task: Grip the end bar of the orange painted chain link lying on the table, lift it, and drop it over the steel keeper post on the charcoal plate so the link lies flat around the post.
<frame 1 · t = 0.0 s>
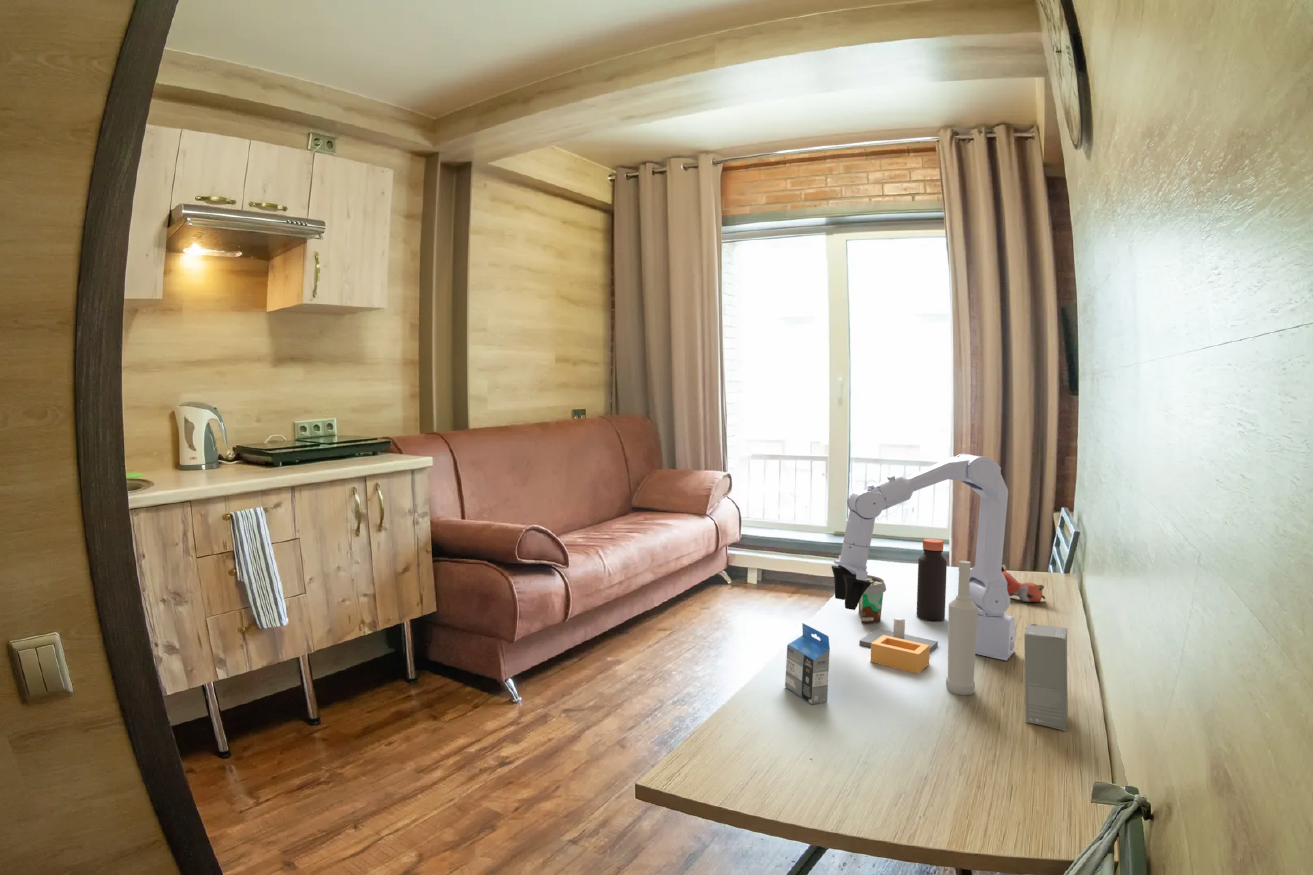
hand: (844, 603, 157), 11 cm above the table, tool pointing down, fingers open, 7 cm apart
stuffed fox: (1020, 600, 200), on the table
label tape box: (806, 695, 134), on the table
bottle: (960, 690, 137), on the table
link: (899, 662, 150), on the table
food container: (872, 619, 180), on the table
skincare box: (1044, 718, 125), on the table
vinegar: (930, 618, 182), on the table
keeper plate: (898, 645, 161), on the table
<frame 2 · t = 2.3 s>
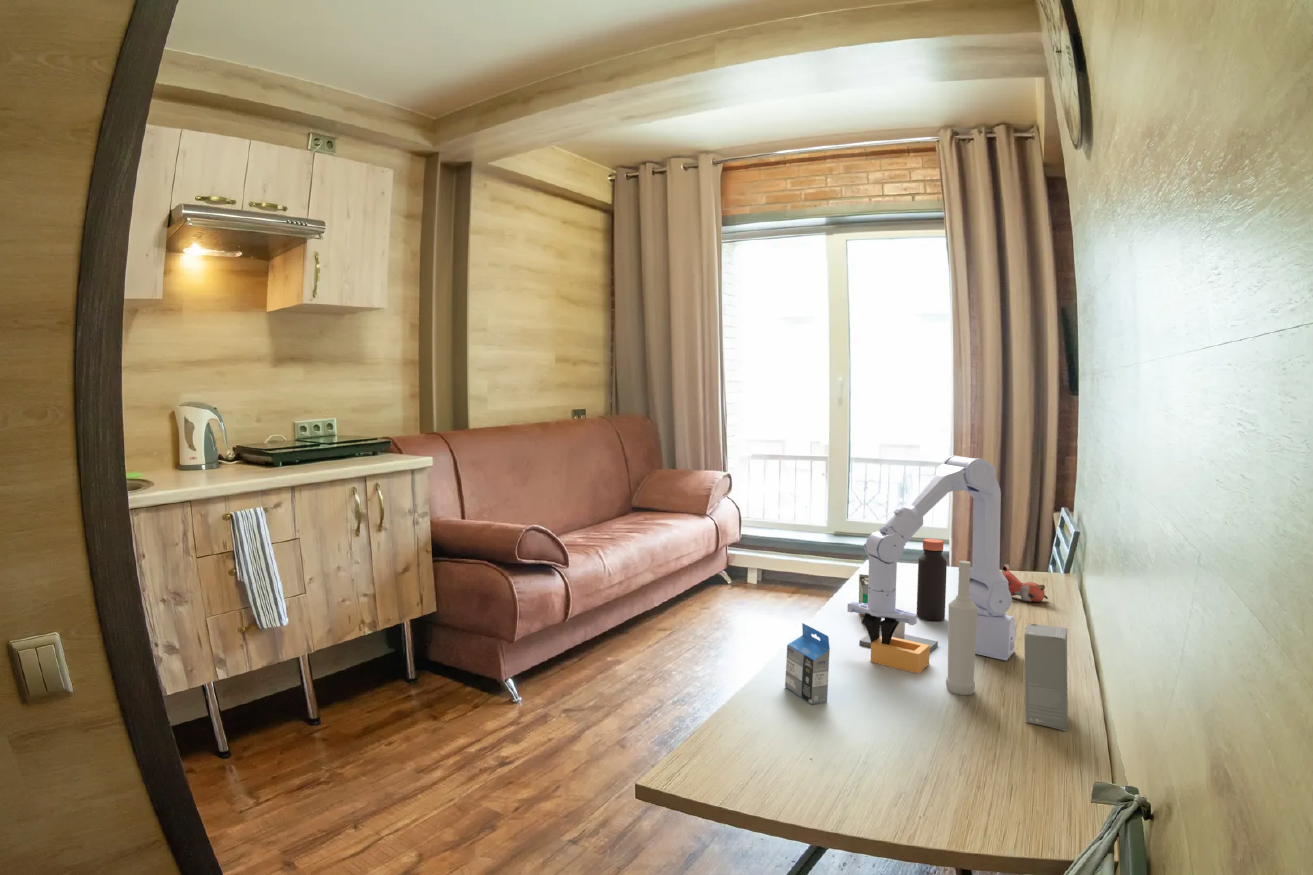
hand: (880, 650, 153), 2 cm above the table, tool pointing down, fingers closed on link
link: (899, 662, 150), on the table, touching gripper
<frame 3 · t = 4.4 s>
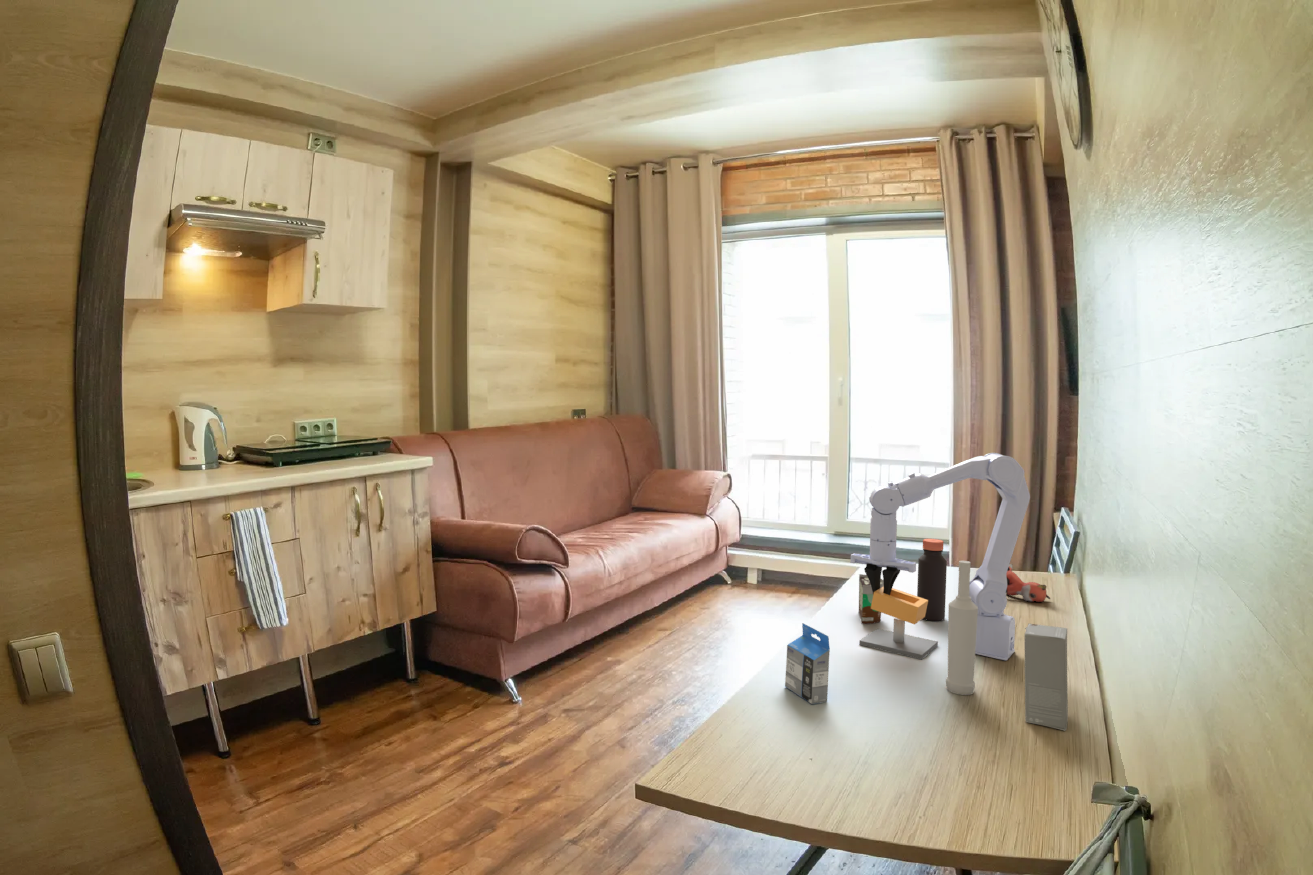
hand: (881, 598, 162), 10 cm above the table, tool pointing down, fingers closed on link
link: (897, 612, 160), point 8 cm above the table, tilted 9°, touching gripper
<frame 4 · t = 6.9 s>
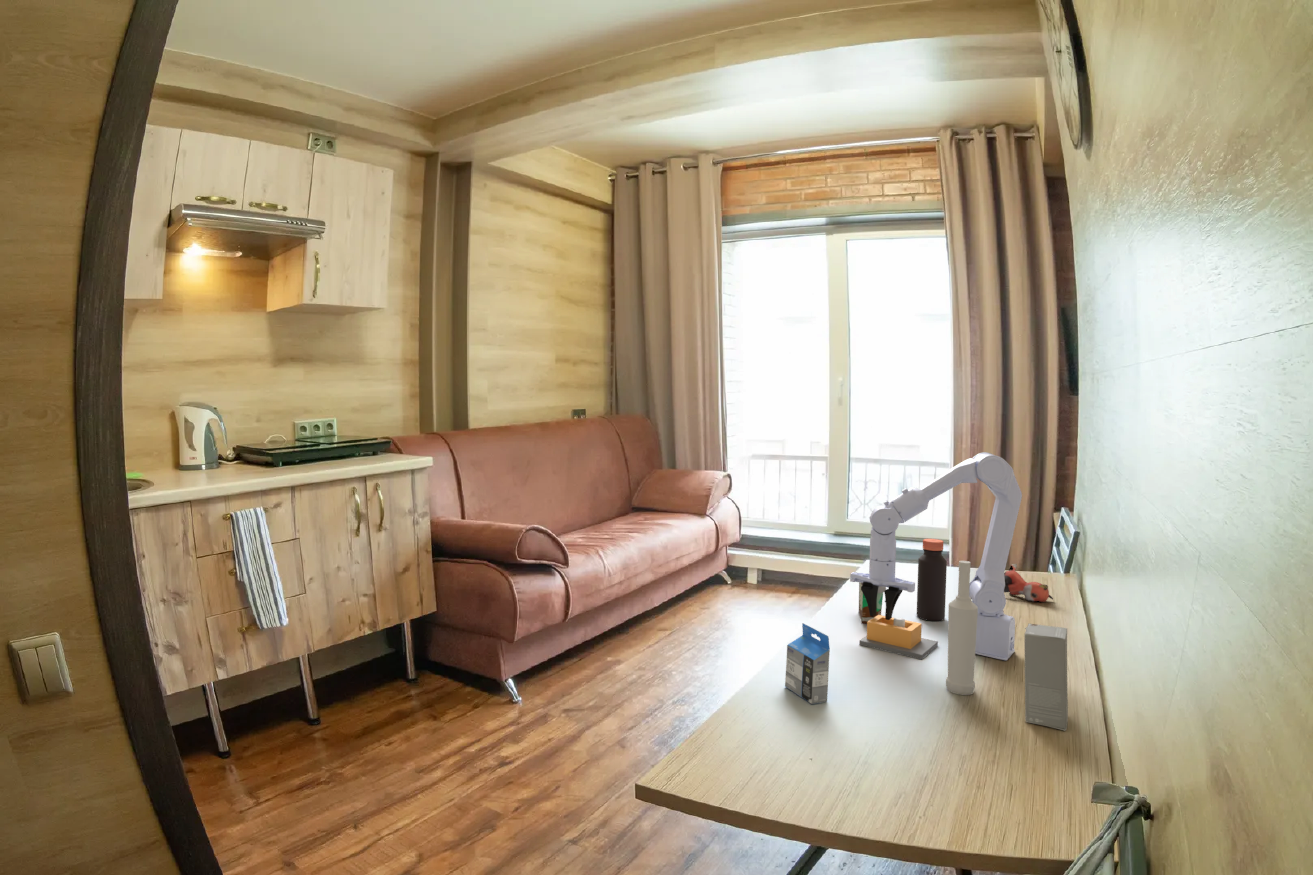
hand: (880, 617, 163), 6 cm above the table, tool pointing down, fingers open, 3 cm apart
link: (893, 639, 162), point 1 cm above the table, touching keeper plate
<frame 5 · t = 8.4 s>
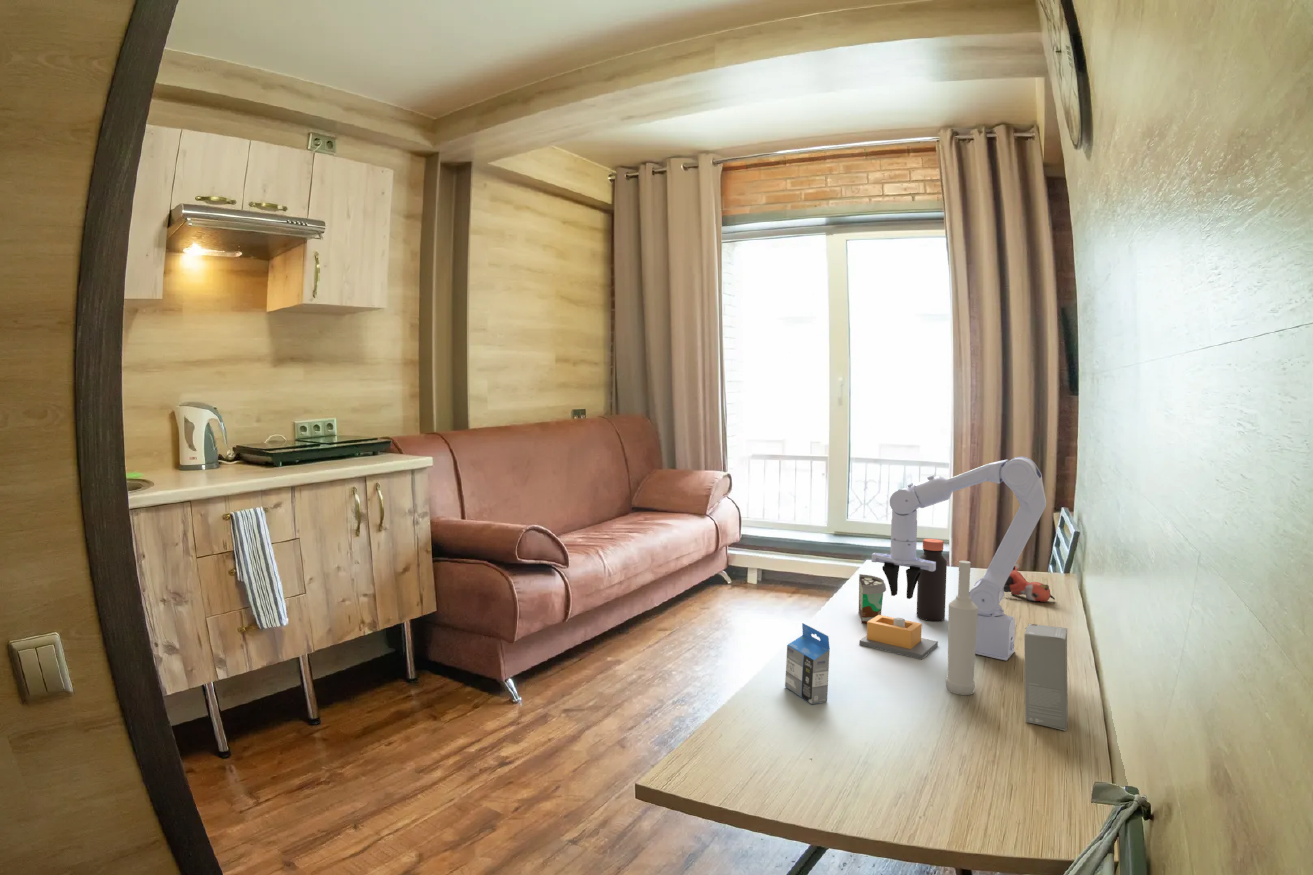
hand: (901, 596, 167), 9 cm above the table, tool pointing down, fingers open, 3 cm apart
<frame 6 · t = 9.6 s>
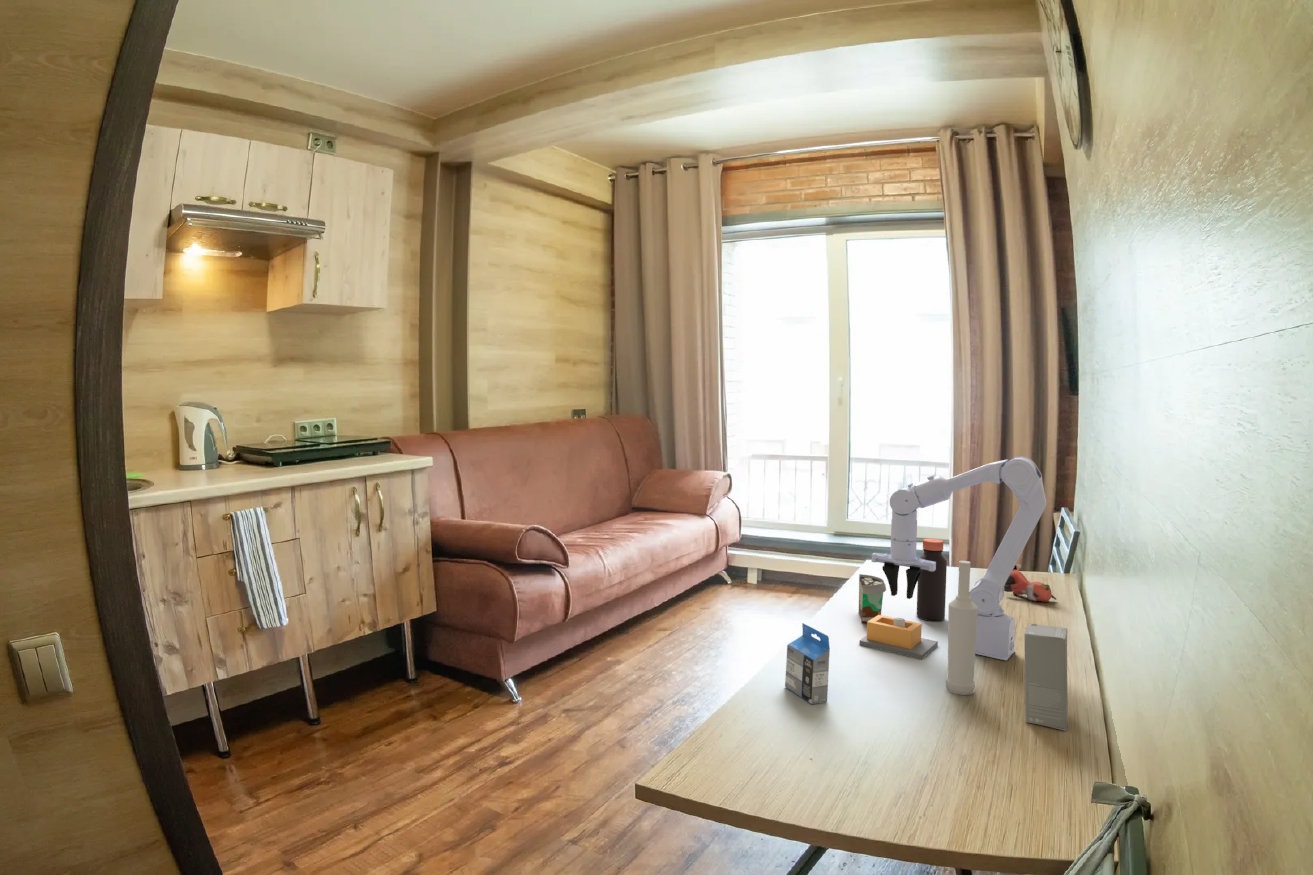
hand: (901, 596, 167), 9 cm above the table, tool pointing down, fingers open, 3 cm apart
at the end: link 1.1 cm off-centre on the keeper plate, point 1.0 cm above the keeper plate's base; link tilted 0°; the gripper is holding nothing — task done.
